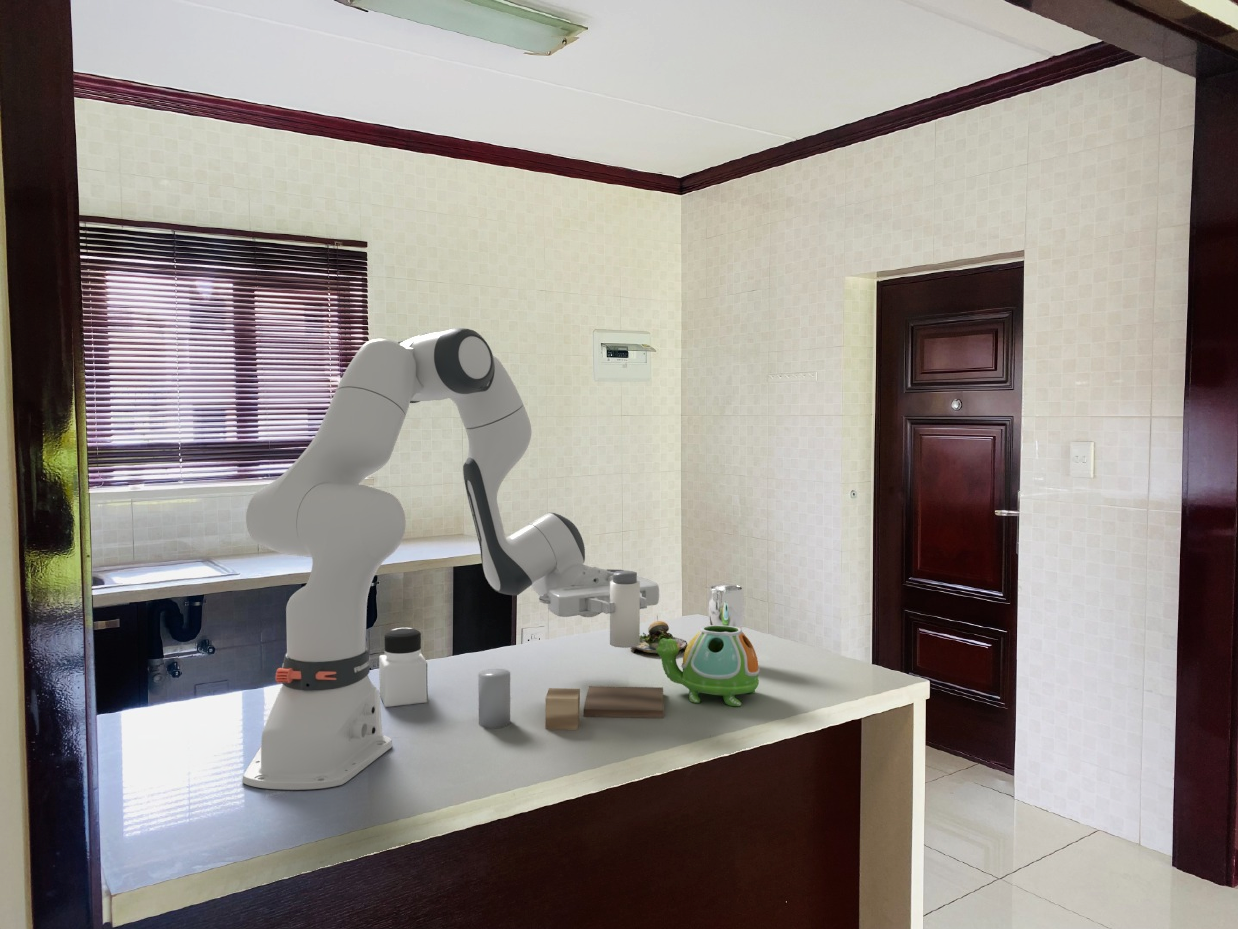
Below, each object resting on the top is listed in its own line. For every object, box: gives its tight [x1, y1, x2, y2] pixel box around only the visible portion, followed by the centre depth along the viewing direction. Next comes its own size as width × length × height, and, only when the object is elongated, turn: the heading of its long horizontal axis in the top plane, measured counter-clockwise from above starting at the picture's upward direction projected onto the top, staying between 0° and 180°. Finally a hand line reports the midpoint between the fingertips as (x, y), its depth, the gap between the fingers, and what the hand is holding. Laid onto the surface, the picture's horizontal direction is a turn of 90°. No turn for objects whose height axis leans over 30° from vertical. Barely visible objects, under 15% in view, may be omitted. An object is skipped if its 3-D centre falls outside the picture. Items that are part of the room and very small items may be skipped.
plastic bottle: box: [609, 570, 641, 649], centre depth 152 cm, size 5×5×12 cm
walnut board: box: [582, 685, 665, 719], centre depth 153 cm, size 12×13×1 cm
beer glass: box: [708, 583, 745, 633], centre depth 178 cm, size 7×7×15 cm
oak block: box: [544, 687, 581, 731], centre depth 144 cm, size 5×5×5 cm
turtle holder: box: [656, 624, 761, 707], centre depth 158 cm, size 12×18×12 cm
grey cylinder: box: [477, 668, 511, 729], centre depth 144 cm, size 5×5×8 cm
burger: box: [630, 616, 688, 654], centre depth 187 cm, size 12×12×8 cm
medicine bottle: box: [378, 627, 428, 708], centre depth 155 cm, size 7×7×12 cm
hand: (627, 606), depth 151 cm, fingers closed on plastic bottle, 5 cm apart
